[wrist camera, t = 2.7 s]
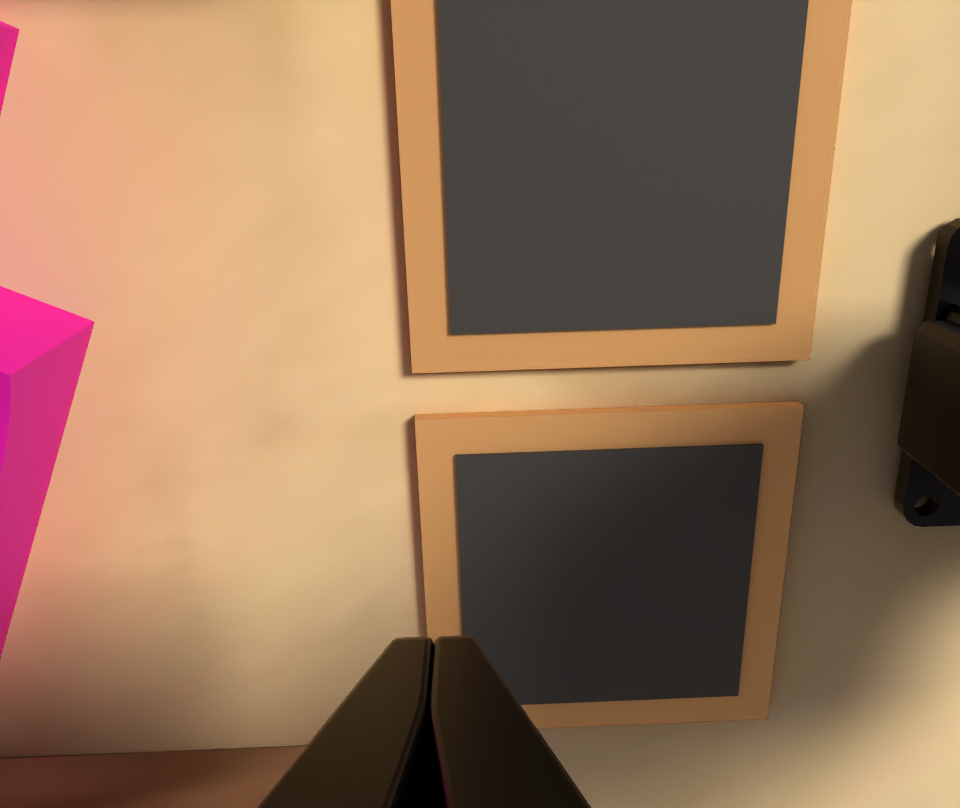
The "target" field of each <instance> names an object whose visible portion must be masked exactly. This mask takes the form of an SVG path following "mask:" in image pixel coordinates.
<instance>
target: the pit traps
mask: <svg viewBox="0 0 960 808" xmlns="http://www.w3.org/2000/svg"><path fill="white" fill-rule="evenodd" d="M851 5H852V0H391V16H392V34H393V51H394V68H395V86H396V103H397V120H398V138H399V155H400V173H401V190H402V207H403V225H404V242H405V259H406V277H407V294H408V311H409V329H410V346H411V364H412V373H438V372H467V371H497V370H526V369H556V368H585V367H614V366H644V365H673V364H703V363H732V362H762V361H791V360H810V353H811V345H812V336H813V328H814V319H815V311H816V302H817V294H818V285H819V277H820V268H821V260H822V251H823V243H824V235H825V226H826V218H827V209H828V201H829V192H830V184H831V175H832V167H833V158H834V150H835V141H836V133H837V124H838V116H839V107H840V99H841V90H842V82H843V73H844V65H845V56H846V48H847V39H848V31H849V22H850V14H851ZM803 413H804V406H803V405H802V404H801V403H800V402H799V401H791V402H762V403H733V404H705V405H676V406H647V407H619V408H590V409H561V410H533V411H504V412H475V413H447V414H418V415H415V433H416V450H417V468H418V485H419V502H420V520H421V537H422V554H423V572H424V589H425V607H426V624H427V637H429V638H431V639H432V640H433V643H434V641H435V640H436V638H438V637H440V636H460V635H470V636H472V637H474V638H475V639H476V641H477V642H478V644H479V645H480V646H481V648H482V649H483V651H484V652H485V654H486V655H487V657H488V658H489V660H490V661H491V662H492V664H493V665H494V667H495V668H496V670H497V671H498V673H499V674H500V676H501V677H502V678H503V680H504V681H505V683H506V684H507V686H508V687H509V689H510V690H511V692H512V693H513V695H514V696H515V697H516V699H517V700H518V702H519V703H520V705H521V706H522V708H523V709H524V711H525V712H526V713H527V715H528V716H529V718H530V719H531V721H532V722H533V724H534V725H535V727H536V728H537V729H541V728H565V727H589V726H613V725H637V724H660V723H684V722H708V721H732V720H756V719H767V718H768V710H769V701H770V693H771V684H772V676H773V667H774V659H775V650H776V642H777V633H778V625H779V616H780V608H781V599H782V591H783V582H784V574H785V565H786V557H787V548H788V540H789V531H790V523H791V515H792V506H793V498H794V489H795V481H796V472H797V464H798V455H799V447H800V438H801V430H802V421H803Z"/></svg>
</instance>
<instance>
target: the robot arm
mask: <svg viewBox="0 0 960 808" xmlns="http://www.w3.org/2000/svg"><path fill="white" fill-rule="evenodd" d="M898 445H899V446H900V447H901V448H902V453H901V459H900V465H899V471H898V477H897V483H896V490H895V496H894V506H895V508H896V509H897V511H898V513H899V514H900V515H902V516H903V517H904V518H905V519H906V520H907V521H908V522H910V523H911V524H913V525H914V526H921V527H929V526H956V525H960V218H957V219H955V220H953V221H952V222H950V223H949V224H947V225H946V226H945V227H944V229H943V230H942V231H941V232H940V234H939V237H938V240H937V242H936V247H935V253H934V259H933V265H932V271H931V277H930V284H929V290H928V296H927V302H926V308H925V314H924V320H923V324H922V325H921V326H920V328H919V329H918V330H917V331H916V333H915V336H914V342H913V348H912V354H911V360H910V367H909V373H908V379H907V385H906V391H905V397H904V404H903V410H902V416H901V422H900V428H899V434H898ZM926 495H929V498H928V500H927V502H926V503H925V504H924V505H922V506H921V507H917V508H915V504H916V502H917V501H918V500H919V499H920V498H921V497H923V496H926ZM256 808H591V807H590V805H589V804H588V802H587V801H586V799H585V798H584V797H583V795H582V794H581V792H580V791H579V789H578V788H577V786H576V785H575V783H574V782H573V781H572V779H571V778H570V776H569V775H568V773H567V772H566V770H565V769H564V767H563V766H562V764H561V763H560V762H559V760H558V759H557V757H556V756H555V754H554V753H553V751H552V750H551V748H550V747H549V746H548V744H547V743H546V741H545V740H544V738H543V737H542V735H541V734H540V732H539V731H538V729H537V728H536V727H535V725H534V724H533V722H532V721H531V719H530V718H529V716H528V715H527V713H526V712H525V711H524V709H523V708H522V706H521V705H520V703H519V702H518V700H517V699H516V697H515V696H514V695H513V693H512V692H511V690H510V689H509V687H508V686H507V684H506V683H505V681H504V680H503V678H502V677H501V676H500V674H499V673H498V671H497V670H496V668H495V667H494V665H493V664H492V662H491V661H490V660H489V658H488V657H487V655H486V654H485V652H484V651H483V649H482V648H481V646H480V645H479V644H478V642H477V641H476V639H475V638H474V637H472V636H470V635H460V636H440V637H438V638H436V640H435V641H434V643H433V640H432V639H431V638H429V637H404V638H396V639H394V640H393V641H392V642H391V643H390V644H389V645H388V647H387V648H386V649H385V650H384V651H383V653H382V654H381V655H380V656H379V658H378V659H377V660H376V661H375V663H374V664H373V665H372V666H371V667H370V669H369V670H368V671H367V672H366V674H365V675H364V676H363V677H362V678H361V680H360V681H359V682H358V683H357V685H356V686H355V687H354V688H353V690H352V691H351V692H350V693H349V694H348V696H347V697H346V698H345V699H344V701H343V702H342V703H341V704H340V705H339V707H338V708H337V709H336V710H335V712H334V713H333V714H332V715H331V716H330V718H329V719H328V720H327V721H326V723H325V724H324V725H323V726H322V728H321V729H320V730H319V731H318V732H317V734H316V735H315V736H314V737H313V739H312V740H311V741H310V742H309V743H308V745H307V746H306V747H305V748H304V750H303V751H302V752H301V753H300V755H299V756H298V757H297V758H296V759H295V761H294V762H293V763H292V764H291V766H290V767H289V768H288V769H287V770H286V772H285V773H284V774H283V775H282V777H281V778H280V779H279V780H278V781H277V783H276V784H275V785H274V786H273V788H272V789H271V790H270V791H269V793H268V794H267V795H266V796H265V797H264V799H263V800H262V801H261V802H260V804H259V805H258V806H257V807H256Z"/></svg>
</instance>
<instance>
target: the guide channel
mask: <svg viewBox="0 0 960 808" xmlns="http://www.w3.org/2000/svg"><path fill="white" fill-rule="evenodd" d="M305 747H306V746H292V747H269V748H245V749H221V750H197V751H173V752H150V753H126V754H102V755H78V756H54V757H30V758H7V759H0V808H256V807H257V806H258V805H259V804H260V802H261V801H262V800H263V799H264V797H265V796H266V795H267V794H268V793H269V791H270V790H271V789H272V788H273V786H274V785H275V784H276V783H277V781H278V780H279V779H280V778H281V777H282V775H283V774H284V773H285V772H286V770H287V769H288V768H289V767H290V766H291V764H292V763H293V762H294V761H295V759H296V758H297V757H298V756H299V755H300V753H301V752H302V751H303V750H304V748H305Z"/></svg>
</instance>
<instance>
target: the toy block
mask: <svg viewBox="0 0 960 808" xmlns="http://www.w3.org/2000/svg"><path fill="white" fill-rule="evenodd" d="M18 33H19V29H18V28H15V27H13V26H11V25H8V24H6V23H4V22H1V21H0V114H1V110H2V105H3V100H4V96H5V91H6V87H7V82H8V78H9V73H10V69H11V64H12V60H13V55H14V51H15V46H16V42H17V37H18ZM93 325H94V321H91V320H89V319H86V318H83V317H81V316H78V315H75V314H73V313H70V312H67V311H65V310H62V309H59V308H57V307H54V306H52V305H49V304H46V303H44V302H41V301H38V300H36V299H33V298H30V297H28V296H25V295H22V294H20V293H17V292H15V291H12V290H9V289H7V288H4V287H1V286H0V658H1V654H2V651H3V647H4V643H5V640H6V636H7V633H8V629H9V626H10V622H11V618H12V615H13V611H14V608H15V604H16V601H17V597H18V593H19V590H20V586H21V583H22V579H23V576H24V572H25V568H26V565H27V561H28V558H29V554H30V551H31V547H32V543H33V540H34V536H35V533H36V529H37V525H38V522H39V518H40V515H41V511H42V508H43V504H44V500H45V497H46V493H47V490H48V486H49V483H50V479H51V475H52V472H53V468H54V465H55V461H56V458H57V454H58V450H59V447H60V443H61V440H62V436H63V433H64V429H65V425H66V422H67V418H68V415H69V411H70V408H71V404H72V400H73V397H74V393H75V390H76V386H77V383H78V379H79V375H80V372H81V368H82V365H83V361H84V358H85V354H86V350H87V347H88V343H89V340H90V336H91V333H92V329H93Z"/></svg>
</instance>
